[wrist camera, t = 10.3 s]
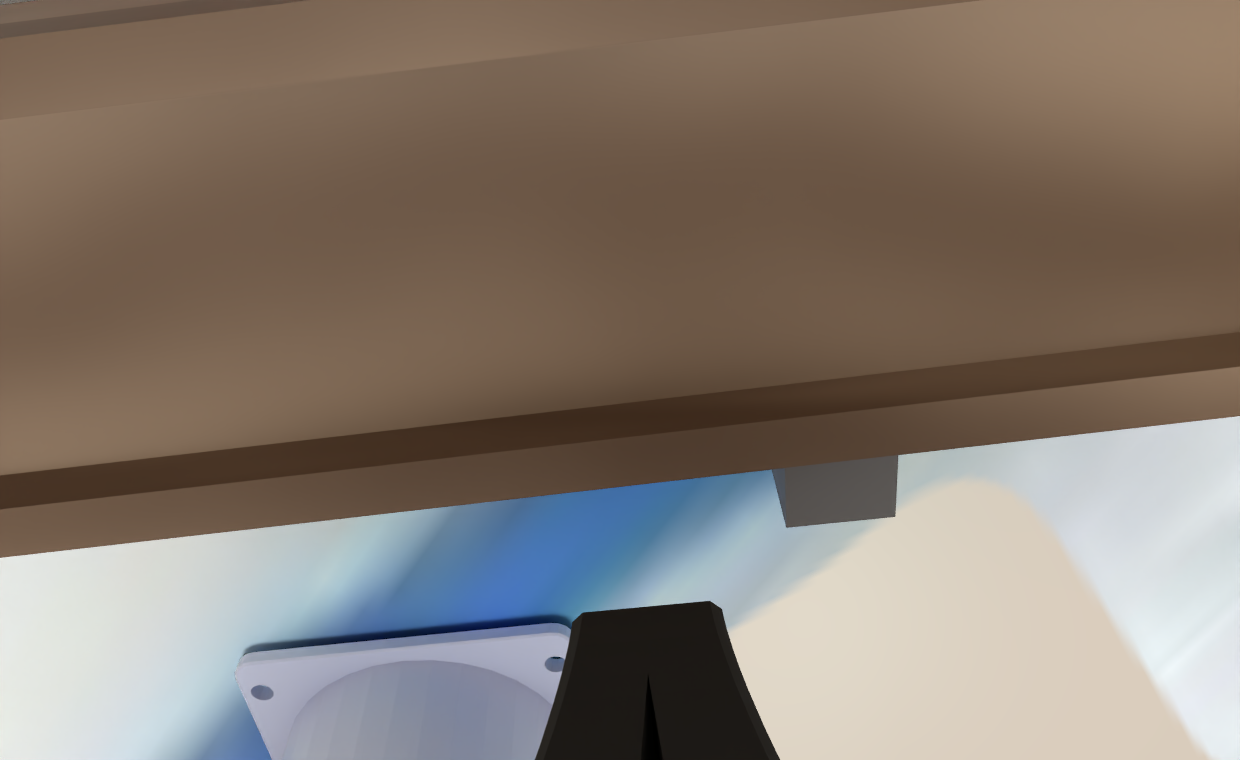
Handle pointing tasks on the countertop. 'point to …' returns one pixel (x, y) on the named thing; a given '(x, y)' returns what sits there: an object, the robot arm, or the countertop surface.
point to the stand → (838, 491)
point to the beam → (589, 245)
